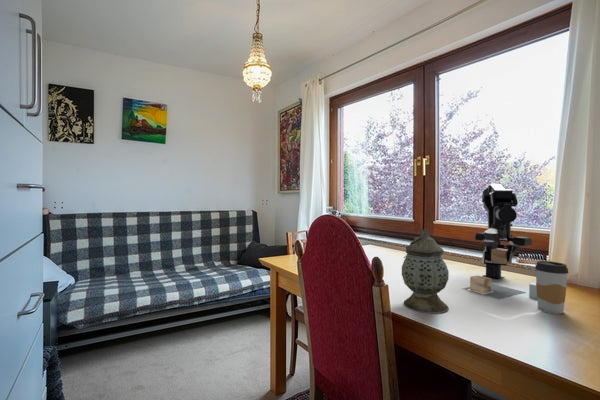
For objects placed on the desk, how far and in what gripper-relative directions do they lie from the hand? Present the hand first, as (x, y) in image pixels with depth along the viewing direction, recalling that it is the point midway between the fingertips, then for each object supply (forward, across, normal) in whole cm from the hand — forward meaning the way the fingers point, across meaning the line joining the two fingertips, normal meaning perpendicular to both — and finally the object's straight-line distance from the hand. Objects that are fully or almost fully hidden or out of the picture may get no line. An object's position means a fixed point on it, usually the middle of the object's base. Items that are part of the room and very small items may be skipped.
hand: (501, 260), depth 122 cm
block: (+11, +13, 0) cm, 17 cm away
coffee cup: (+11, +21, -11) cm, 26 cm away
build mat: (+11, +1, -7) cm, 13 cm away
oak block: (+11, -1, -12) cm, 16 cm away
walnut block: (+1, 0, 0) cm, 1 cm away
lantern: (+11, 0, -44) cm, 45 cm away
